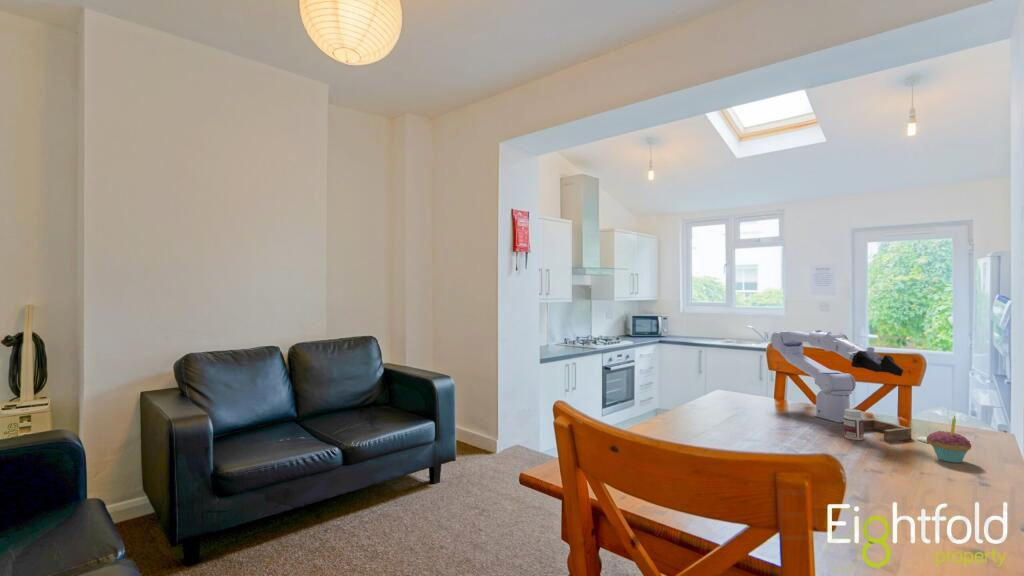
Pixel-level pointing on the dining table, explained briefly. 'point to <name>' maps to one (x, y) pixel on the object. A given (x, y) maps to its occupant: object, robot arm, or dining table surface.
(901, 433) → the walnut corral
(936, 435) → the cupcake
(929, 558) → the dining table surface
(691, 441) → the dining table surface
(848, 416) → the pill bottle
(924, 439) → the disc
